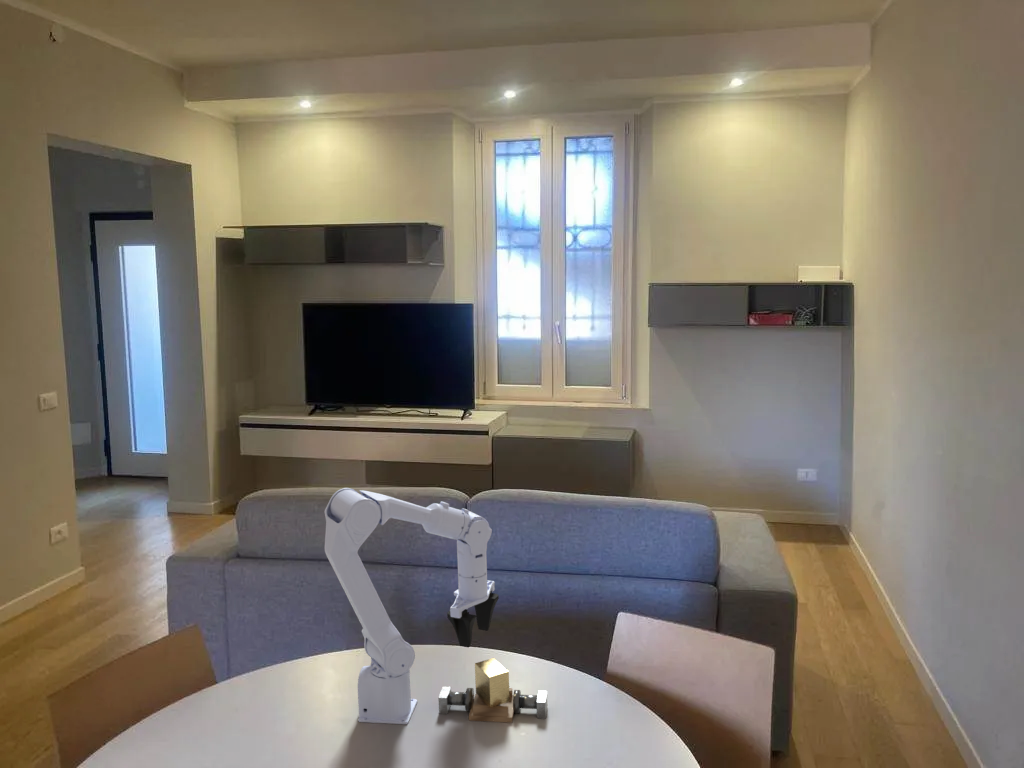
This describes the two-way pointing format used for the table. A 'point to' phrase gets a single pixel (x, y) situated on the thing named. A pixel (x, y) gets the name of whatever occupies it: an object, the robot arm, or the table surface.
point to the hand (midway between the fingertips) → (474, 637)
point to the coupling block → (492, 682)
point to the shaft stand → (496, 713)
